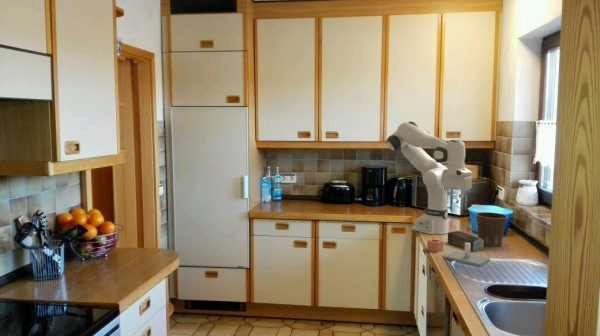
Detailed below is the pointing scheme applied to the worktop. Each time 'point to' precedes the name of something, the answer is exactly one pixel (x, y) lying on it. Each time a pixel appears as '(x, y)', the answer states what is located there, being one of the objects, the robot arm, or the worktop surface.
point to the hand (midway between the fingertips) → (455, 196)
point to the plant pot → (491, 227)
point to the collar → (435, 245)
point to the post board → (469, 260)
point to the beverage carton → (465, 240)
